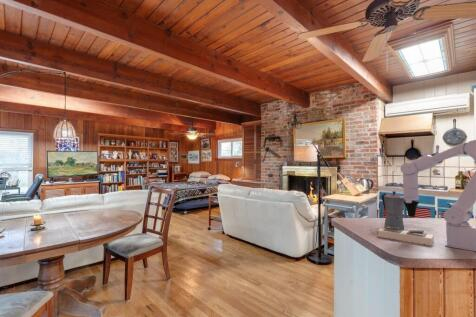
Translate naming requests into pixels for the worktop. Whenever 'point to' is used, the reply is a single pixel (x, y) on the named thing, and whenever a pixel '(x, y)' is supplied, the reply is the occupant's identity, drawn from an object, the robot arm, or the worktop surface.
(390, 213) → the moka pot
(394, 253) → the worktop surface
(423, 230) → the rocker
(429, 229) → the worktop surface
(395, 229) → the rocker
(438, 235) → the worktop surface
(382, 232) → the power strip
